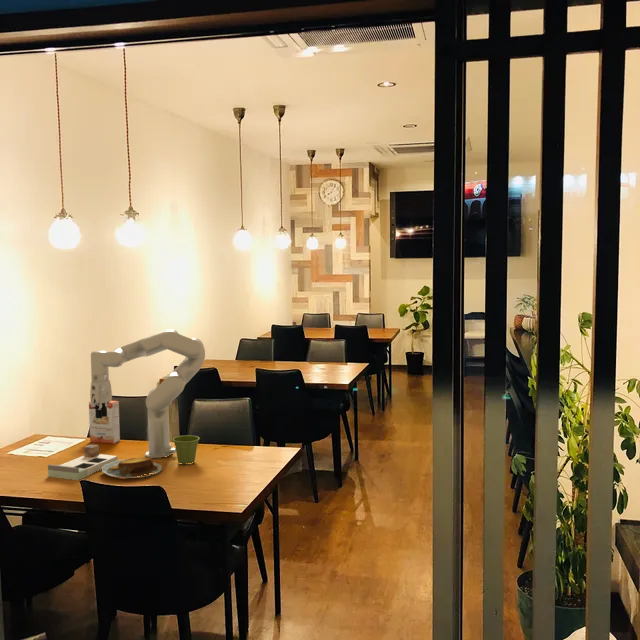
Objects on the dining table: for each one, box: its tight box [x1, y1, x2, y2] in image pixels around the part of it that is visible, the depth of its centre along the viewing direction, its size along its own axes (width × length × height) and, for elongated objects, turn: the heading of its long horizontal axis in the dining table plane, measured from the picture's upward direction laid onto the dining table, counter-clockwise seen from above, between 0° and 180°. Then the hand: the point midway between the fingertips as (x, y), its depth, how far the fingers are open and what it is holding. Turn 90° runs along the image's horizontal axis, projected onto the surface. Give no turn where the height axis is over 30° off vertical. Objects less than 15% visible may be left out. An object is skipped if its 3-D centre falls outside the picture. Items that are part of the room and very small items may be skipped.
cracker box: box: [88, 400, 121, 445], centre depth 334 cm, size 14×6×21 cm, turn 73°
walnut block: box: [83, 444, 100, 458], centre depth 298 cm, size 4×4×4 cm
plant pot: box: [172, 434, 201, 464], centre depth 296 cm, size 12×12×11 cm
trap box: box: [47, 453, 119, 481], centre depth 288 cm, size 15×26×5 cm, turn 160°
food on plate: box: [101, 456, 163, 480], centre depth 283 cm, size 25×25×7 cm
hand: (101, 417), depth 304 cm, fingers open, 2 cm apart
